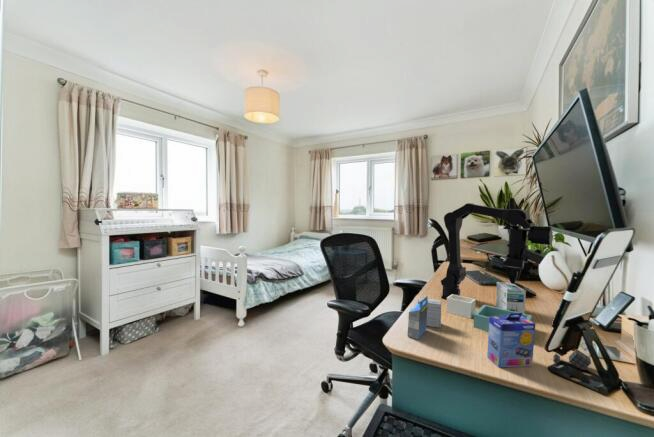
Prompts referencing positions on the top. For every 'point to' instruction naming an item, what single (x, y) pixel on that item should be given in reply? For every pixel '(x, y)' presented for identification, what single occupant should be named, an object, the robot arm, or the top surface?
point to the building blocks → (576, 359)
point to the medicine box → (433, 312)
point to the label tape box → (418, 319)
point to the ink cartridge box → (511, 340)
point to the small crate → (461, 306)
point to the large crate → (485, 311)
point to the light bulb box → (510, 297)
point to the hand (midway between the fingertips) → (514, 281)
